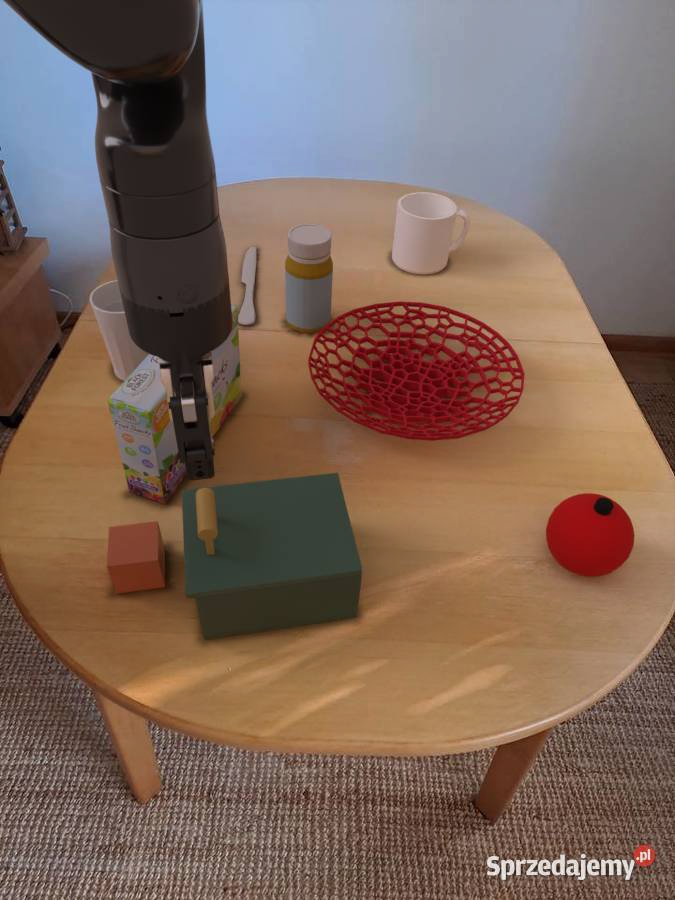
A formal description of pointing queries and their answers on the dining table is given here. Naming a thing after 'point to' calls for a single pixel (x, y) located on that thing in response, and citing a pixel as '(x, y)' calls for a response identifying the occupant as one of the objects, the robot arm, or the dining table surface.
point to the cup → (116, 329)
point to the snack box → (166, 419)
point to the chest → (279, 607)
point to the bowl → (416, 374)
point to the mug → (425, 232)
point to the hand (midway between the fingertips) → (198, 440)
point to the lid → (266, 535)
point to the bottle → (308, 278)
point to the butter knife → (248, 288)
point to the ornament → (590, 534)
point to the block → (136, 557)
